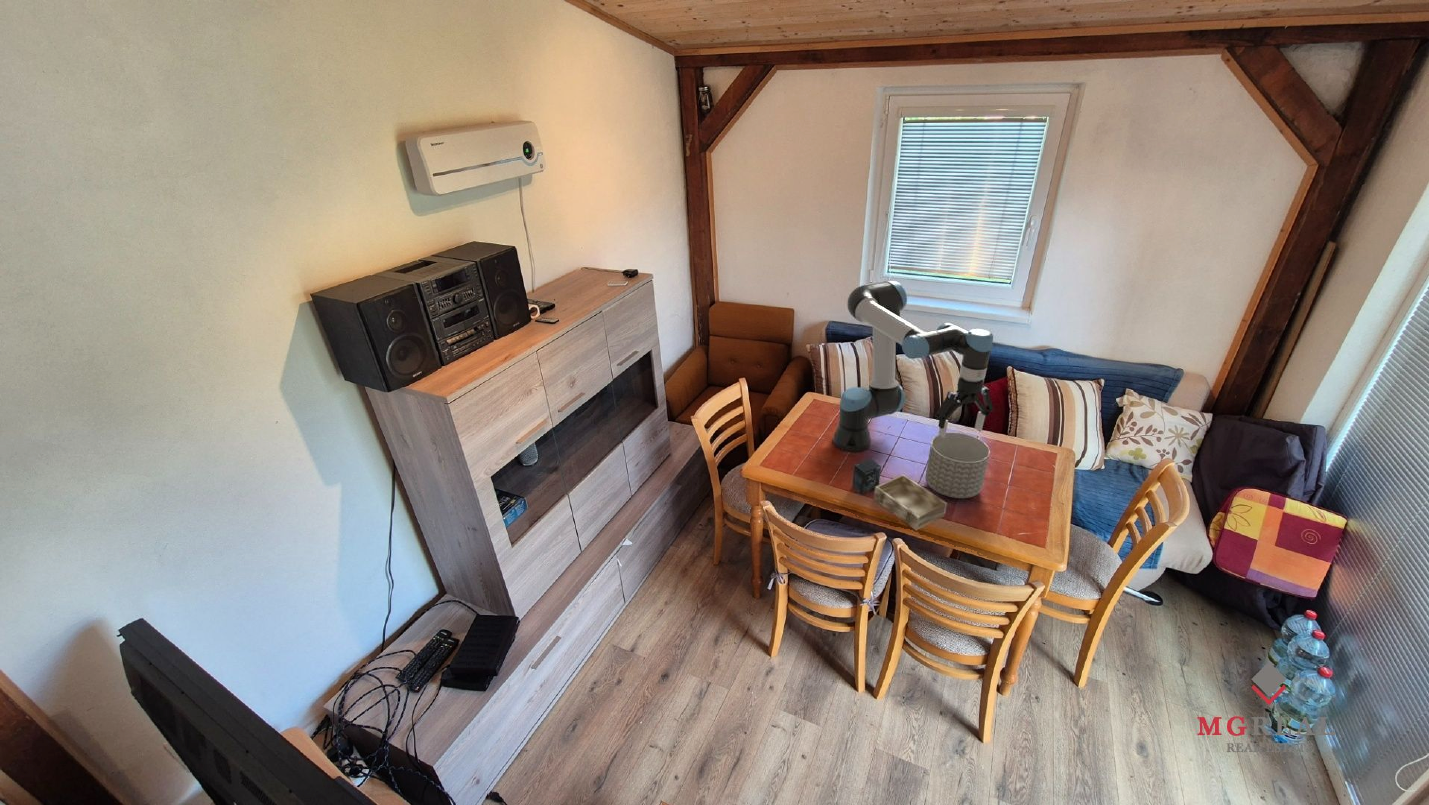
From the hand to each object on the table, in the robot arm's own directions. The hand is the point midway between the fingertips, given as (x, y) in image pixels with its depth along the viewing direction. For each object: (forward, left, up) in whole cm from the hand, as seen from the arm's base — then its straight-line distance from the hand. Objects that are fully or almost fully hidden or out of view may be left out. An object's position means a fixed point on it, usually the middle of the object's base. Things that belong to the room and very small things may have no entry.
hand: (960, 432), depth 191 cm
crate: (-2, -19, -25) cm, 31 cm away
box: (-18, -24, -25) cm, 39 cm away
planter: (-1, +2, -25) cm, 25 cm away
